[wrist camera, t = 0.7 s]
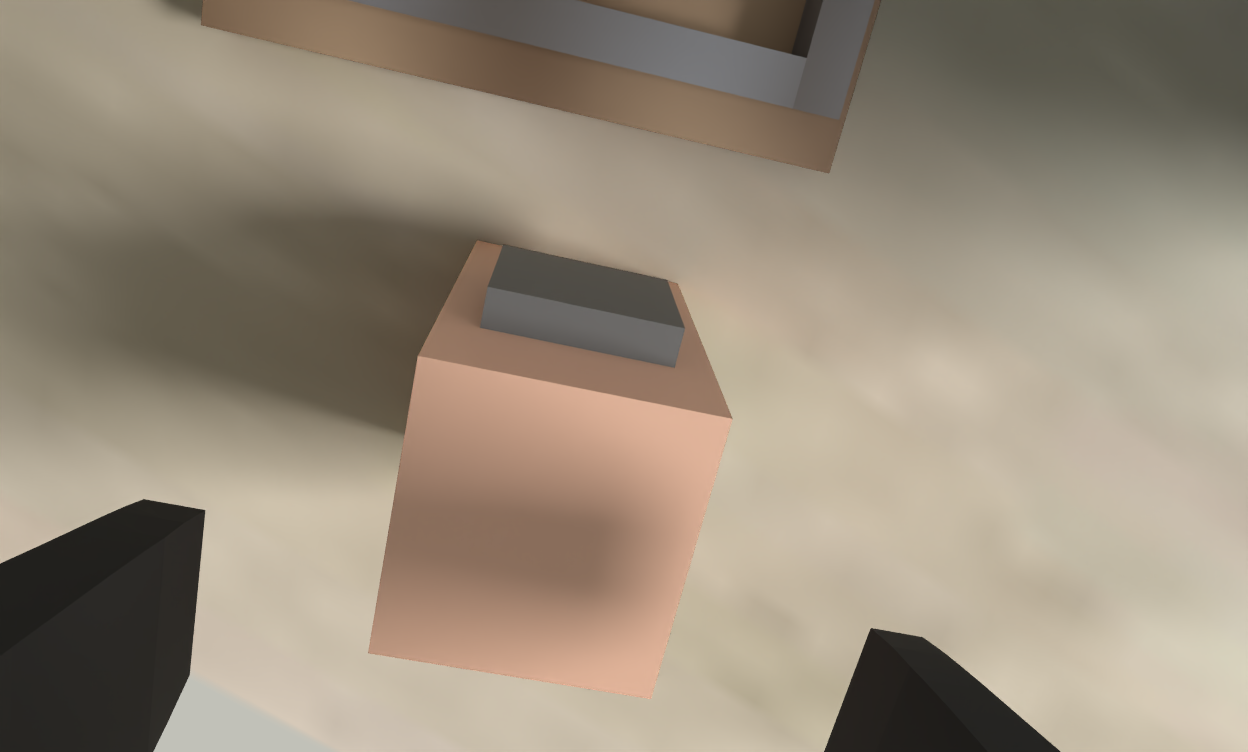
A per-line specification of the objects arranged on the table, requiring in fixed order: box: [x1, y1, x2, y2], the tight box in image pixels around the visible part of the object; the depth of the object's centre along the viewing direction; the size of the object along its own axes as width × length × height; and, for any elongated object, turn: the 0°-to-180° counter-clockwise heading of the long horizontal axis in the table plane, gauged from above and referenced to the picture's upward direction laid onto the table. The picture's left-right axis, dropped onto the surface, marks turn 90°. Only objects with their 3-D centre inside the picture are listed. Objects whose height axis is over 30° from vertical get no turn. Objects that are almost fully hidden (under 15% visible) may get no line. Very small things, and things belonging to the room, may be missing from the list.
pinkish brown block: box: [368, 240, 732, 699], centre depth 15 cm, size 4×5×7 cm
